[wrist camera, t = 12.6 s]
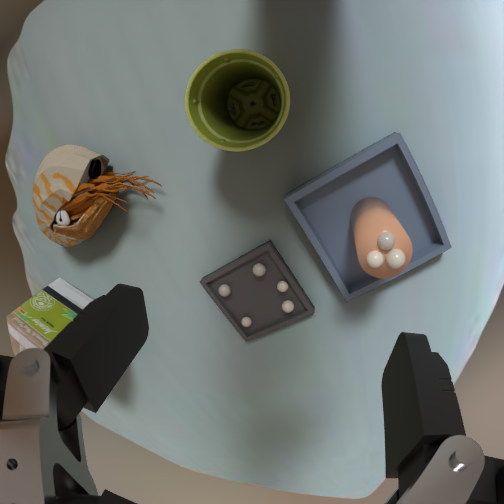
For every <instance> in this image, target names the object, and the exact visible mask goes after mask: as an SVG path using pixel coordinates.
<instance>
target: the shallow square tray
mask: <svg viewBox="0 0 504 504" xmlns="http://www.w3.org/2000/svg"><path fill="white" fill-rule="evenodd" d="M367 197H376V198H379V199H381V200H383V201H384V202H386V203H387V205H388V206H389V207H390V209H391V210H392V212H393V213H394V215H395V216H396V218H397V219H398V221H399V222H400V224H401V225H402V227H403V228H404V230H405V232H406V233H407V235H408V236H409V238H410V240H411V243H412V249H413V251H412V257H411V260H410V262H409V264H408V266H407V267H406V268H405V269H404V270H403V271H402V272H401V273H400V274H398V275H396V276H394V277H391V278H383V279H382V278H376V277H373V276H371V275H369V274H368V273H366V272H365V271H364V270H363V268H362V267H361V265H360V263H359V260H358V256H357V250H356V245H355V241H354V236H353V231H352V226H351V221H350V215H351V211H352V209H353V207H354V206H355V204H356V203H357V202H359V201H360V200H362V199H364V198H367ZM284 201H285V202H286V204H287V205H288V207H289V208H290V210H291V211H292V213H293V215H294V216H295V218H296V219H297V221H298V222H299V224H300V226H301V227H302V229H303V230H304V232H305V234H306V235H307V237H308V238H309V240H310V242H311V243H312V245H313V247H314V248H315V250H316V251H317V253H318V255H319V256H320V258H321V260H322V261H323V263H324V265H325V266H326V268H327V270H328V271H329V273H330V275H331V276H332V278H333V280H334V281H335V283H336V285H337V286H338V288H339V290H340V291H341V293H342V295H343V297H344V298H345V300H346V302H347V301H350V300H352V299H354V298H356V297H358V296H360V295H362V294H364V293H366V292H368V291H370V290H372V289H374V288H376V287H378V286H380V285H382V284H384V283H386V282H388V281H390V280H392V279H394V278H396V277H398V276H400V275H402V274H404V273H406V272H408V271H410V270H411V269H413V268H415V267H417V266H419V265H421V264H423V263H425V262H426V261H428V260H430V259H432V258H434V257H436V256H437V255H439V254H441V253H443V252H445V251H446V250H448V249H450V248H451V245H450V242H449V239H448V237H447V234H446V231H445V229H444V226H443V224H442V221H441V219H440V216H439V214H438V211H437V209H436V206H435V204H434V202H433V199H432V197H431V195H430V193H429V190H428V188H427V186H426V184H425V182H424V179H423V177H422V175H421V173H420V171H419V169H418V167H417V165H416V163H415V161H414V159H413V157H412V155H411V153H410V151H409V149H408V147H407V145H406V143H405V141H404V139H403V138H402V136H401V134H400V133H396V132H394V133H392V134H391V135H389V136H387V137H385V138H383V139H382V140H380V141H378V142H376V143H374V144H373V145H371V146H369V147H367V148H365V149H364V150H362V151H360V152H358V153H357V154H355V155H353V156H351V157H350V158H348V159H346V160H344V161H343V162H341V163H339V164H337V165H336V166H334V167H332V168H330V169H329V170H327V171H325V172H323V173H322V174H320V175H318V176H317V177H315V178H313V179H311V180H310V181H308V182H306V183H305V184H303V185H301V186H299V187H298V188H296V189H294V190H293V191H291V192H289V193H288V194H286V196H285V198H284Z"/></svg>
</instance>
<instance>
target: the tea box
mask: <svg viewBox="0 0 504 504" xmlns="http://www.w3.org/2000/svg"><path fill="white" fill-rule="evenodd" d="M91 301H93V299H91V298H90V297H88V296H87V295H85V294H84V293H82V292H81V291H79V290H77V289H76V288H74V287H73V286H72V285H70V284H69V283H67V282H66V281H64V280H63V279H62V278H58V279H57V280H55V281H54V282H52V283H51V284H49V285H48V286H47V287H45V288H44V289H42V290H41V291H40V292H38V293H37V294H36V295H34V296H33V297H32V298H31V299H29V300H28V301H27V302H25V303H24V304H23V305H21V306H20V307H19V308H17V309H16V310H15V311H13V312H12V313H11V314H10V315H8V316H7V323H8V328H9V333H10V339H11V343H12V348H13V353H14V355H15V356H16V355H17V354H18V353H19V352H21V351H23V350H25V349H29V348H40V349H44V348H45V347H46V346H47V345H48V344H49V343H50V342H51V341H52V340H53V339H54V338H55V337H56V336H57V335H58V334H59V333H60V332H61V331H62V330H63V329H64V328H65V327H66V326H67V325H68V324H69V323H70V322H71V321H73V319H74V318H75V317H76V316H77V315H78V314H80V313H81V311H82V310H83V309H84V308H85V307H86V306H87V305H88V304H89V303H90V302H91Z"/></svg>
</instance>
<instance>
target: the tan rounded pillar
mask: <svg viewBox="0 0 504 504" xmlns="http://www.w3.org/2000/svg"><path fill="white" fill-rule="evenodd" d="M350 221H351V226H352V231H353V236H354V241H355V245H356V250H357V256H358V260H359V263H360V265H361V267H362V268H363V270H364V271H365V272H366V273H368V274H369V275H371V276H373V277H376V278H382V279H383V278H391V277H394V276H396V275H398V274H400V273H401V272H402V271H403V270H404V269H405V268H406V267H407V266H408V264H409V262H410V260H411V257H412V251H413V249H412V243H411V240H410V238H409V236H408V235H407V233H406V232H405V230H404V228H403V227H402V225H401V224H400V222H399V221H398V219H397V218H396V216H395V215H394V213H393V212H392V210H391V209H390V207H389V206H388V205H387V203H386V202H384V201H383V200H381V199H379V198H376V197H367V198H364V199H362V200H360V201H359V202H357V203H356V204H355V206H354V207H353V209H352V211H351V215H350Z"/></svg>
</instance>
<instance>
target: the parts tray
mask: <svg viewBox="0 0 504 504" xmlns="http://www.w3.org/2000/svg"><path fill="white" fill-rule="evenodd" d="M200 283H201V284H202V286H203V287H204V288H205V290H206V291H207V292H208V294H209V295H210V296H211V297H212V299H213V300H214V301H215V303H216V304H217V305H218V307H219V308H220V309H221V310H222V312H223V313H224V314H225V316H226V317H227V318H228V319H229V321H230V322H231V323H232V325H233V326H234V327H235V328H236V330H237V331H238V332H239V333H240V335H241V336H242V337H243V338H244V340H245V341H249V340H251V339H254V338H256V337H259V336H261V335H264V334H266V333H268V332H271V331H273V330H276V329H278V328H280V327H283V326H285V325H287V324H290V323H292V322H294V321H296V320H299V319H301V318H303V317H306V316H308V315H310V314H312V313H314V310H315V307H314V306H313V304H312V303H311V301H310V300H309V298H308V297H307V295H306V293H305V292H304V290H303V289H302V287H301V286H300V284H299V283H298V281H297V280H296V278H295V277H294V275H293V274H292V272H291V271H290V269H289V267H288V266H287V264H286V263H285V261H284V260H283V258H282V257H281V255H280V254H279V252H278V251H277V249H276V248H275V246H274V245H273V243H272V242H271V240H269V241H268V242H266V243H264V244H262V245H260V246H259V247H257V248H255V249H253V250H251V251H250V252H248V253H246V254H244V255H242V256H241V257H239V258H237V259H235V260H234V261H232V262H230V263H228V264H226V265H225V266H223V267H221V268H219V269H217V270H216V271H214V272H212V273H210V274H209V275H207V276H205V277H203V278H202V279H201V281H200Z"/></svg>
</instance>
